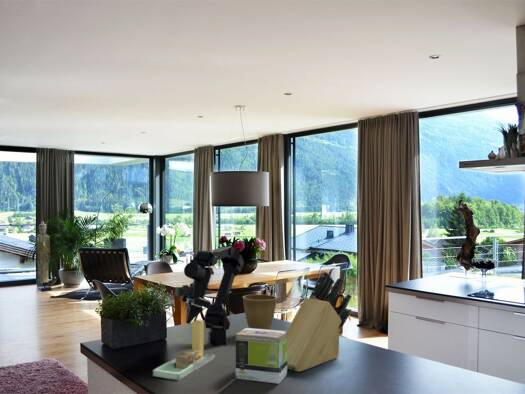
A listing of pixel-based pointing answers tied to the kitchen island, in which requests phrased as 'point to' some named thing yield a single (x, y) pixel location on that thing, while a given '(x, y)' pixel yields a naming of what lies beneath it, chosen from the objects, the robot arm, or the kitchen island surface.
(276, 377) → the tea box
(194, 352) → the maple block
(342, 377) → the kitchen island surface
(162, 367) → the tray
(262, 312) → the plant pot
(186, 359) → the walnut block
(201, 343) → the tall yellow pillar
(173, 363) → the slot rail
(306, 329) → the knife block
